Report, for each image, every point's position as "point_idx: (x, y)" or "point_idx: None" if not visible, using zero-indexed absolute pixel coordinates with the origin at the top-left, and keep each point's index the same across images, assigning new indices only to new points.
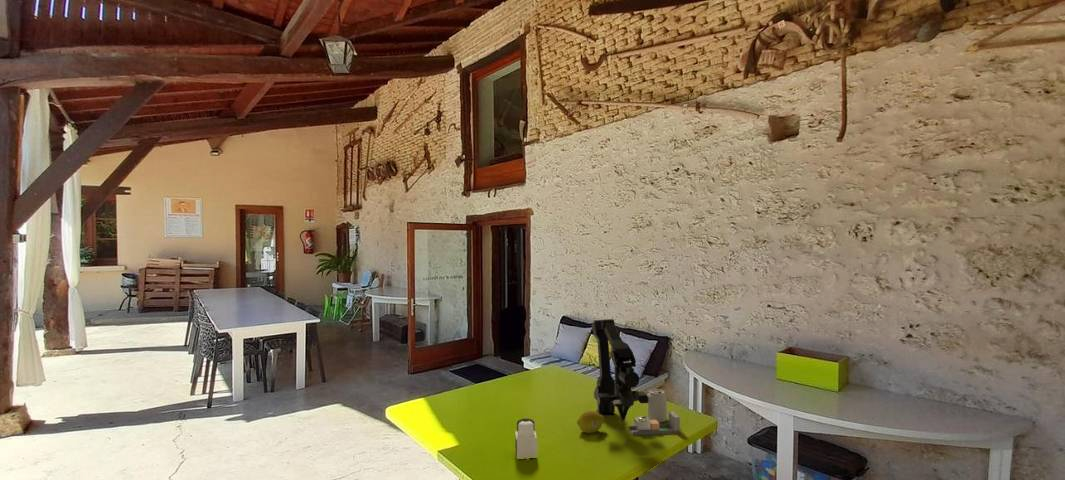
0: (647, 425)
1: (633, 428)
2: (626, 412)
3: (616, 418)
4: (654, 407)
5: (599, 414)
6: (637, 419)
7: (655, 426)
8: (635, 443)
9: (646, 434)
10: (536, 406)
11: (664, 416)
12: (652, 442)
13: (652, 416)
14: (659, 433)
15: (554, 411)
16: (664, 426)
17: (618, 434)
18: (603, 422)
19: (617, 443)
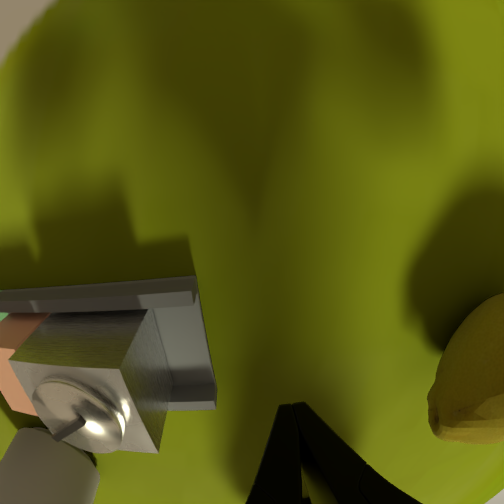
0: (46, 340)
1: (180, 388)
2: (264, 488)
3: None
4: (33, 497)
5: (497, 416)
6: (125, 423)
7: (5, 334)
8: (204, 109)
9: (84, 288)
10: (483, 471)
11: (12, 444)
12: (59, 143)
13: (63, 464)
14: (8, 292)
15: (467, 466)
16: None
17: (320, 308)
18: (438, 386)
19: (369, 121)
